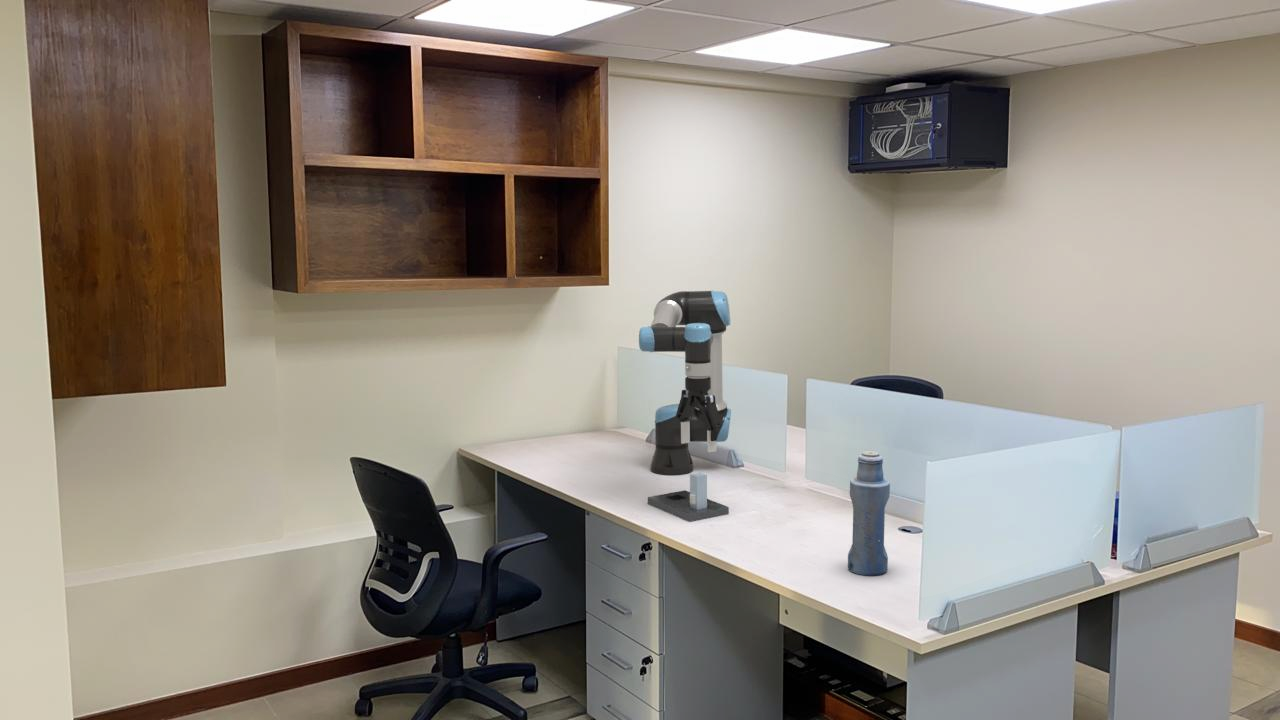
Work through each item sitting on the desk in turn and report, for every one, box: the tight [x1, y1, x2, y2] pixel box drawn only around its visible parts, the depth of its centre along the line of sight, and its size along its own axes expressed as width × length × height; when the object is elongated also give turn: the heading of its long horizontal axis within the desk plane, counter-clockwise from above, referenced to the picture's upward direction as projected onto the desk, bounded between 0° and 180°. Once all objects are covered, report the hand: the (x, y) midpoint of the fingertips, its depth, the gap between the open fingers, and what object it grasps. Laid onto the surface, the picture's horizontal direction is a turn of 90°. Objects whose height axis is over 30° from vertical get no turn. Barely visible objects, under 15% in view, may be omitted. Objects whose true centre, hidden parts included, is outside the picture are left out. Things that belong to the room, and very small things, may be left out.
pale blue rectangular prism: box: [689, 472, 708, 510], centre depth 296 cm, size 4×4×12 cm
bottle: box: [847, 450, 891, 576], centre depth 247 cm, size 10×10×30 cm
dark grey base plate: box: [647, 490, 730, 523], centre depth 302 cm, size 14×23×3 cm, turn 32°
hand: (698, 447), depth 295 cm, fingers open, 13 cm apart
